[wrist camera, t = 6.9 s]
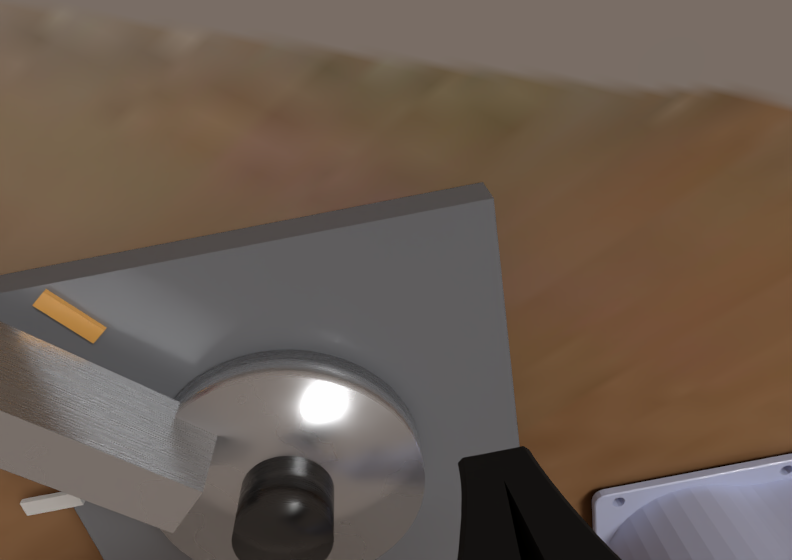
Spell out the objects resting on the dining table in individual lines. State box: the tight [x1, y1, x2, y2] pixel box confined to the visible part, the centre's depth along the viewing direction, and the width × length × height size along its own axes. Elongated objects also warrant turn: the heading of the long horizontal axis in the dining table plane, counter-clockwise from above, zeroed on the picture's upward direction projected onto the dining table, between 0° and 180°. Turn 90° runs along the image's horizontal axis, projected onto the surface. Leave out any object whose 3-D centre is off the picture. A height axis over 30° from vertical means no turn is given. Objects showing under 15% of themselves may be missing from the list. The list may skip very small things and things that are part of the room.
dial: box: [0, 321, 425, 560], centre depth 19 cm, size 16×9×4 cm, turn 55°
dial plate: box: [0, 182, 519, 560], centre depth 22 cm, size 16×18×2 cm
